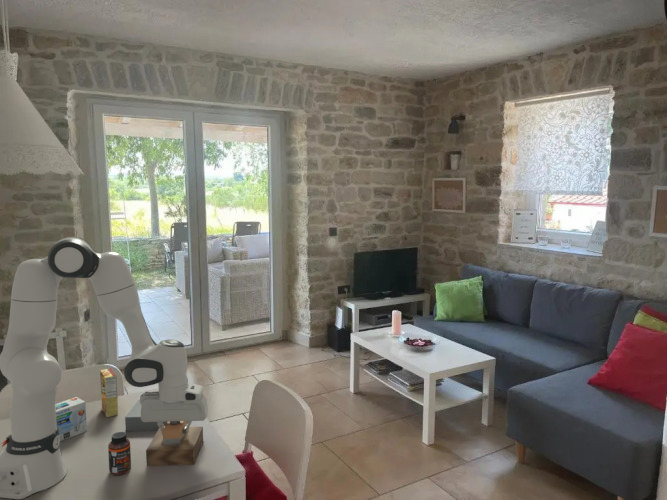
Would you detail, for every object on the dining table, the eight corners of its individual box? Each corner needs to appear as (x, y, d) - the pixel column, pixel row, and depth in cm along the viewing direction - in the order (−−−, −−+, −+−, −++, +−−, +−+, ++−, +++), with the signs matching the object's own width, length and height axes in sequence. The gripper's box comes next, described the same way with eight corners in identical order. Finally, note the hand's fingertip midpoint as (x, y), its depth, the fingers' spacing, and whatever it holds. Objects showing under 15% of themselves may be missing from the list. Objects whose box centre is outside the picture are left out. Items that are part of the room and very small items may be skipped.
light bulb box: (55, 443, 159) (53, 412, 158) (46, 437, 163) (44, 406, 162) (88, 430, 168) (86, 401, 166) (78, 425, 172) (76, 396, 170)
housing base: (179, 446, 149) (179, 438, 148) (163, 446, 148) (162, 438, 148) (187, 429, 159) (187, 422, 158) (171, 430, 158) (171, 423, 158)
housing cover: (179, 438, 148) (179, 427, 148) (162, 438, 148) (162, 427, 148) (187, 422, 158) (186, 412, 158) (171, 423, 158) (171, 412, 158)
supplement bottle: (117, 478, 140) (115, 442, 139) (105, 472, 143) (102, 436, 142) (135, 468, 145) (133, 433, 144) (123, 462, 148) (121, 427, 147)
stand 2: (146, 466, 147) (145, 450, 146) (160, 441, 161) (159, 427, 160) (193, 464, 148) (193, 449, 147) (203, 440, 162) (202, 426, 161)
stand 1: (125, 431, 168) (125, 417, 167) (139, 412, 182) (138, 399, 181) (167, 429, 169) (166, 416, 168) (177, 411, 182) (176, 398, 182)
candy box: (101, 409, 184) (99, 370, 182) (113, 406, 187) (111, 367, 185) (106, 417, 177) (104, 377, 175) (119, 414, 180) (117, 375, 178)
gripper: (136, 396, 148) (138, 439, 150) (204, 394, 149) (205, 437, 151) (143, 387, 154) (145, 429, 156) (208, 386, 155) (209, 427, 157)
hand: (175, 433), depth 153 cm, fingers open, 5 cm apart
